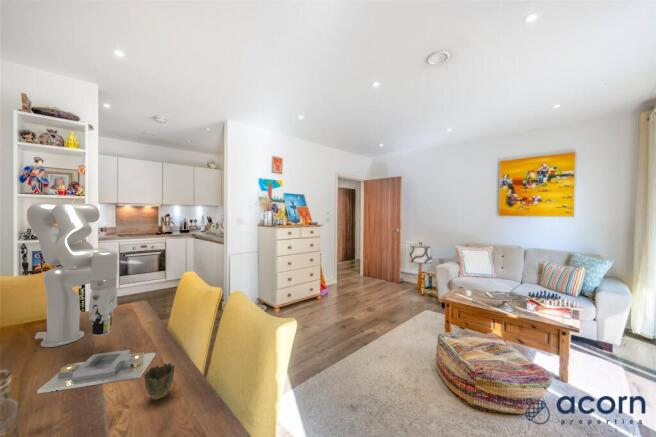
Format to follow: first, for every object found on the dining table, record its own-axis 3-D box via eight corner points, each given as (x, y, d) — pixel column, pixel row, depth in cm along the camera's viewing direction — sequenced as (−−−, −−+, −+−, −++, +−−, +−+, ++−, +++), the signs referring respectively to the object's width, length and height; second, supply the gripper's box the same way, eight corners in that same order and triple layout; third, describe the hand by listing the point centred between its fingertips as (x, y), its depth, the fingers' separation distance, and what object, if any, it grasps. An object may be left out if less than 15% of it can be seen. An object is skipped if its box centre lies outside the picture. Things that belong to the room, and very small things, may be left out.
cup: (141, 410, 68) (141, 381, 68) (146, 393, 75) (146, 366, 75) (173, 401, 72) (173, 373, 72) (175, 385, 78) (175, 360, 78)
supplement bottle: (100, 330, 98) (101, 309, 97) (113, 330, 98) (114, 309, 98) (90, 336, 93) (90, 314, 93) (103, 336, 93) (104, 314, 93)
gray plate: (37, 393, 74) (37, 379, 74) (69, 366, 87) (69, 354, 87) (140, 377, 82) (140, 364, 82) (155, 355, 95) (155, 344, 95)
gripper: (103, 289, 88) (101, 340, 89) (125, 277, 104) (124, 319, 105) (76, 290, 86) (75, 342, 86) (104, 277, 102) (102, 321, 102)
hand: (102, 329), depth 95 cm, fingers closed on supplement bottle, 4 cm apart
